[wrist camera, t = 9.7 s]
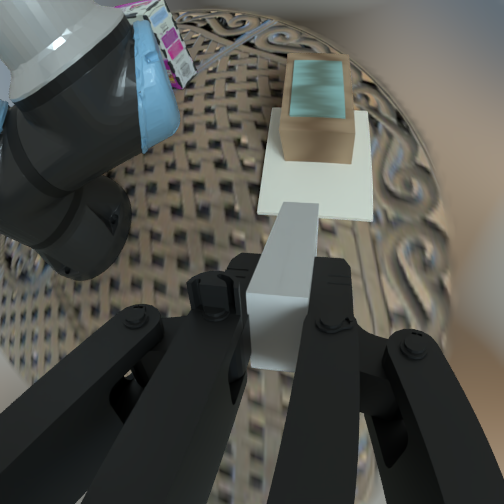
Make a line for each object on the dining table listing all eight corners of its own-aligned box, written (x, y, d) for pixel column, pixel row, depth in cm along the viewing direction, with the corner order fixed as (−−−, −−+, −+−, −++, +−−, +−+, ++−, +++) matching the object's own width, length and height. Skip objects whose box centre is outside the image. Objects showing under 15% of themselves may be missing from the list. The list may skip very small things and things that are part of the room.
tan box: (278, 128, 31) (287, 51, 35) (284, 161, 37) (292, 84, 41) (355, 131, 29) (348, 53, 33) (351, 164, 35) (347, 85, 39)
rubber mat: (257, 214, 36) (256, 212, 36) (272, 110, 41) (272, 107, 40) (372, 221, 33) (373, 219, 33) (366, 114, 38) (367, 111, 37)
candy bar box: (199, 71, 47) (165, -5, 31) (184, 90, 46) (143, 14, 30) (152, 67, 50) (115, 4, 35) (137, 85, 49) (94, 22, 34)
